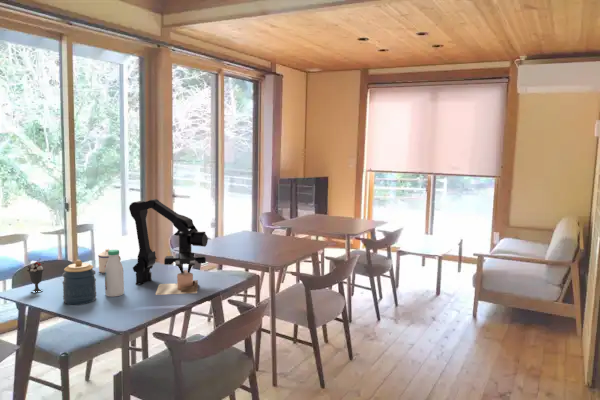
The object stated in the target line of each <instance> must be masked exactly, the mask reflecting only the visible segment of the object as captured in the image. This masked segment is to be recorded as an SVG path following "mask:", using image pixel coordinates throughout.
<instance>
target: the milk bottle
mask: <svg viewBox="0 0 600 400" xmlns="http://www.w3.org/2000/svg"><path fill="white" fill-rule="evenodd" d="M108 256H109V259H108V262H107V264H106V267H105V273H104V283H105V285H104V287H105V289H104V290H105V296H106V297H109V298H113V297H120V296H123V294H124V293H125V281H124V267H123V263H122V261H121V260H120V259H119V256H120V250H119V249H109V251H108Z"/></svg>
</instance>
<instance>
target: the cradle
mask: <svg viewBox="0 0 600 400" xmlns="http://www.w3.org/2000/svg"><path fill="white" fill-rule="evenodd" d="M198 285H199V281H198V280H196V279H195V280H194V279H193V286H190V287H181V290H178V289H177V283H159V284H158V286H157V289H156V291H155V296H157V295H158V296H159V295H162V296H163V295H181V294H182V295H183V294H184V295H185V294H198Z"/></svg>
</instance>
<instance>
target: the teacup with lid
mask: <svg viewBox="0 0 600 400" xmlns="http://www.w3.org/2000/svg"><path fill="white" fill-rule="evenodd" d="M109 250H110V249H109V248H106V249H105V250H104V251H102V252H100V253H98V255H97V257H98V272H99V273H101V274H105V267H106V264H107V262H108V259H109V256H108V251H109ZM119 259H120V261H121V260H122V259H121V256H120V255H119Z"/></svg>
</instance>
